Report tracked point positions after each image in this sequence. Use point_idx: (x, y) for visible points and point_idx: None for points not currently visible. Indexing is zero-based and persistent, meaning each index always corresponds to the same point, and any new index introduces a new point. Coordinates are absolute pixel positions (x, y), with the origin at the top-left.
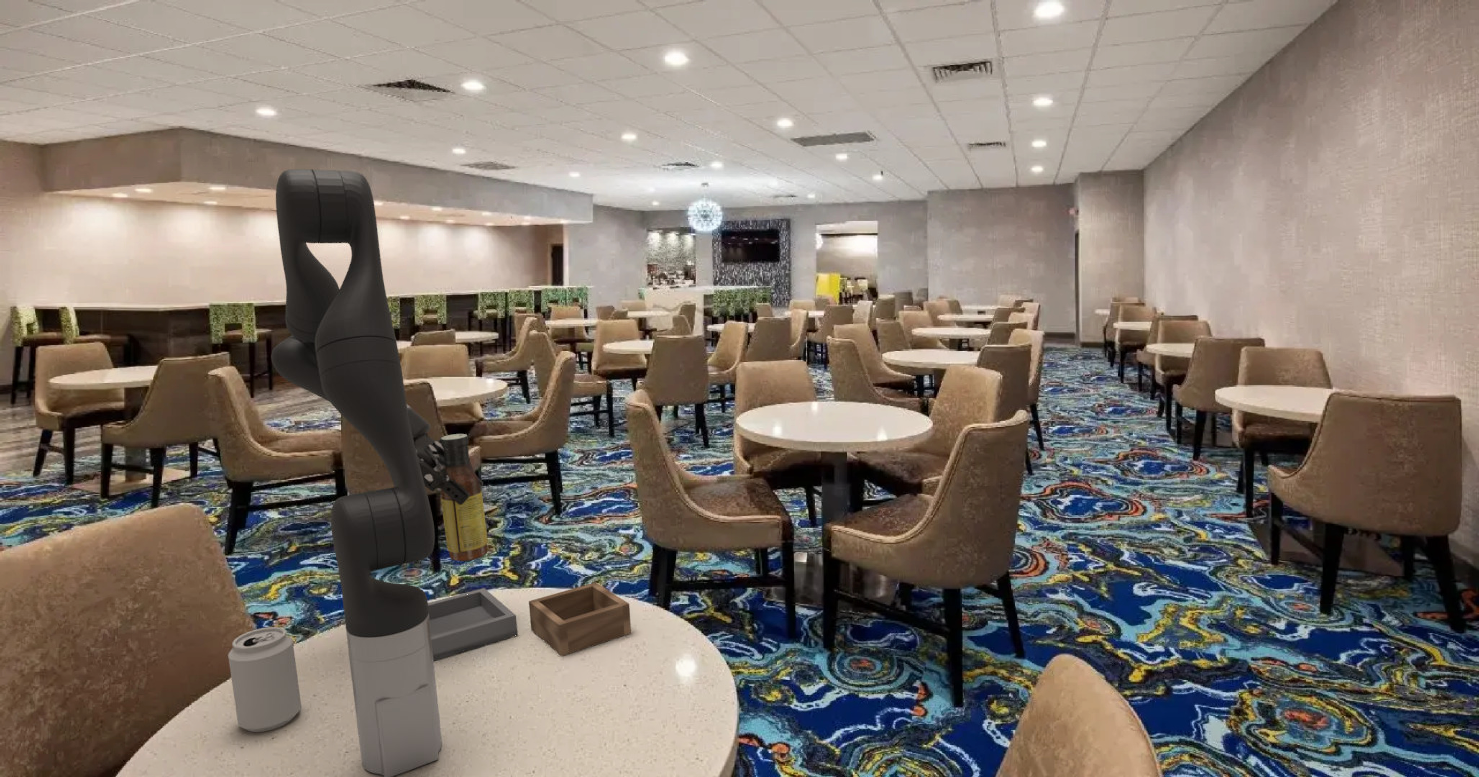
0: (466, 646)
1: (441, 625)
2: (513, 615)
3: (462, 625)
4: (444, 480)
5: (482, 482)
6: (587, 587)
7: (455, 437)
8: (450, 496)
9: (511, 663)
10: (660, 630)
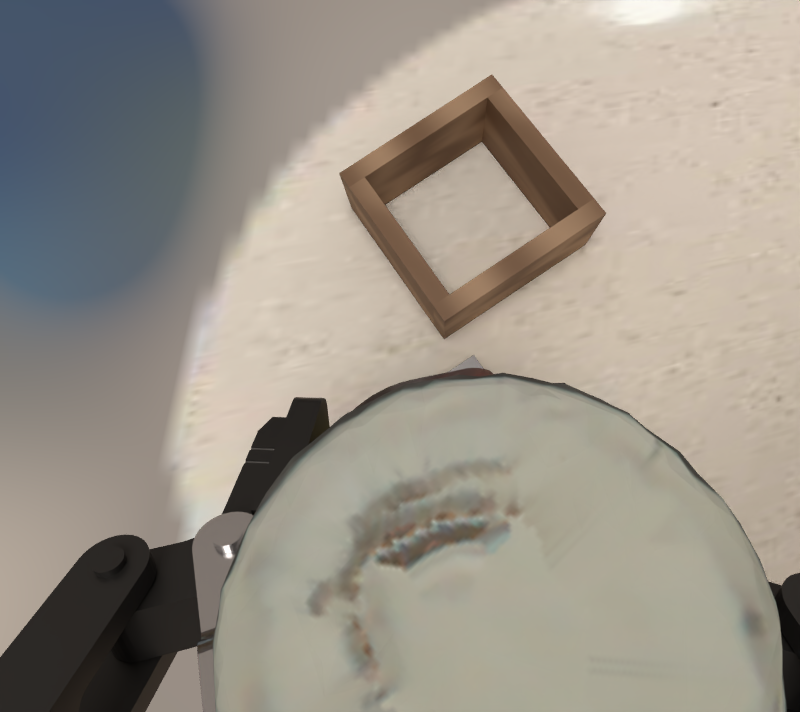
0: None
1: None
2: (474, 360)
3: None
4: None
5: (301, 398)
6: (371, 187)
7: (620, 592)
8: None
9: (610, 346)
10: (477, 66)
